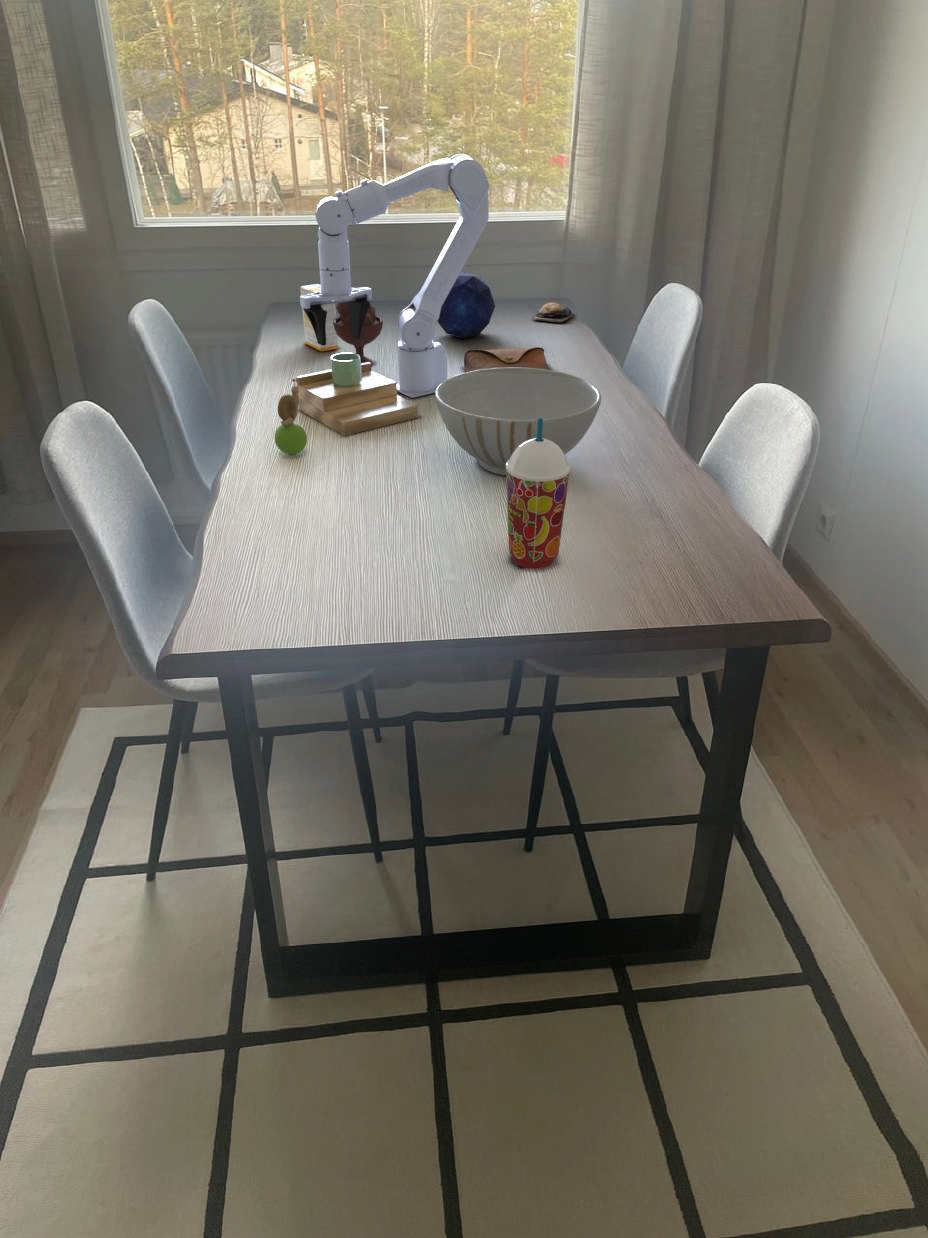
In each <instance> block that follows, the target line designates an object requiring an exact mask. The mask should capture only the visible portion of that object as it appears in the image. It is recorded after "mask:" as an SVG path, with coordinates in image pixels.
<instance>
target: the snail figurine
mask: <svg viewBox="0 0 928 1238" xmlns="http://www.w3.org/2000/svg"><path fill="white" fill-rule="evenodd" d="M291 381H292V382H293V383H295V382H296V385H293V386H291V390H290V392H291V394H290V393H286V394H283V395H282V396H281V397H280V399H279V400H278V404H277V414H278V417H279V419H281V421H280V425H279V426H278V427H277V429H276V430H275V433H274V443H275V445H276V447H277V448H278V450H280V452H281V453H283V454H286V455H297V454H299V453H301V452H302V451H303V450H304V449H305V447H306V445H307V442H308V435H307V432H306V430H305V428H304V427H303V426H302V425H300V424H299V423H297V422H294V421H295V420H296V418H297V417H298V414H299V396H298V393H299V388H298V382H299V380H298V379H296V378H292V379H291Z"/></svg>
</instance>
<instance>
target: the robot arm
mask: <svg viewBox="0 0 928 1238" xmlns="http://www.w3.org/2000/svg"><path fill="white" fill-rule="evenodd" d="M486 174H487V173H486V171H485V169H484V167H483V165H482V164H481V163H480V162H478V161H476V160H474V159H473V158H472V157H471V156H470V155H467V154H465V153H457V154H455V155H453V156H451V157H450V158H449V157H445V158H440V159H438V160H435V161H432V162H430V163H427V164H425V165H423V166H421V167H419V168H415V169H414V170H412V171H409V172H407V173H405V174H403V175H401V176H398V177H397V178H396V177H395V178H394V179H391V180H390V181H387V182H385V183H380V182H379V181H377V180H375V179H372V180H370V181H368V179H367V178H365V179H362V180H360V181H359V183H360V185H358V186H355V187H353V188H350V189H348V190H346V191H343V192H342V191H341V190H338V191H336V192H335V195H336V196H335V197H334V196H326V197H324V198H322V199H321V200H320V201H319V202H318V203H317V205H316V209H315V215H314V216H315V220H316V223H317V225H318V230H317V238H318V239H319V240H318V242H317V248H318V249H317V250H318V264H319V279H320V285H321V291H320V292H316V293H312V294H309V295H305V296H301V295H300V296H299V303H300V307H301V308H302V307H303V309H304V311H305V313H306V315H307V316H308V318H309V320H310V322H311V324H312V327H313V329H314V332H315V335H316V338H317V342H318V344H320V345H322V346H324V345H326V329H325V327H326V316H327V311H325V310H323V307H321V305H328V304H334V303H335V304H338V303H341V302H347V305H348V309H349V314H350V324H351V336H352V338H355V339H357V340H358V339H360V335H361V330H362V326H363V322H364V319H365V317H366V314H367V312H368V310H369V308H370V304H371V302H370V301H369V300H372V299H373V295H372V293H373V292H372V291H373V290H372V288H370V287H367V286H362V287H352V280H351V279H352V277H351V276H352V275H351V272H352V271H351V255H350V242H349V240H348V228H349V225H353V226H356V225H358V224H360V223H364V222H365V221H368V220H370V219H373V218H375V217H378V216H380V215H383V214H385V213H386V212H387V210H388V207H389V205H390V203H393V202H394V201H399V200H400V199H403V198H406V197H409V196H412V195H414V194H417V193H420V192H423V191H425V190H428V189H435V190H440V191H442V192H443V191H444V192H449V190H450V191H451V192H452V193H453V195H454V197H455V201H456V204H457V205H456V206H457V208H458V212H459V214H460V215H459V218H458V219H457V221H456V224H455V225H454V227H453V228H452V231H451V233H450V235H449V237H448V238H447V240H446V242H445V244H444V246H443V248H442V249H441V252H440V253H439V255H438V257H437V259H436V261H435V263H434V264H433V266H432V269H431V270H430V272H429V274H428V276H427V277H426V280H425V281H424V283H423V285H422V287H421V289H420V291H419V292H418V293H417V294H416V295H415V296H414V297H413V299H412V300H411V302H410V304H409V305H408V306H406V307H404V308H403V309H402V310H401V311H400V312H399V314H398V317H397V327H398V330H399V332H400V334H401V338H400V340H399V341H398V342H397V361H398V362H397V363H398V383H397V393H400V394H403V395H404V396H407V397H409V398H412V399H413V398H418V397H423V396H427V395H431V394H435V392H436V389H437V387H438V386H439V385H440V384H441V383H442V382H444V381H445V380H447V379H448V354H447V351H446V349H445V347H444V345H443V344H442V343H440V342H439V341H434V338H435V327H436V325H437V324H438V319H439V315H440V310H441V307H442V305H443V303H444V301H445V299H446V297H447V296H448V294H449V292H450V290H451V288H452V286H453V285H454V283H455V281H456V279H457V277H458V276H459V274H460V273H462V270H463V268H464V267H465V265H466V263H467V261H468V259H469V257H470V256H471V253H472V252H473V250H474V248H475V247H476V244H477V243H478V241H479V240H480V237H481V235H482V234H483V232H484V230H485V228H486V226H487V224H488V222H489V219H490V218H489V215H490V214H489V190H490V182H489V180H488V177H487V175H486Z"/></svg>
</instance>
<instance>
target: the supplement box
mask: <svg viewBox="0 0 928 1238" xmlns="http://www.w3.org/2000/svg"><path fill="white" fill-rule="evenodd" d="M299 288H300V296H305V295H309V294H312V293H316V292H320V291H321V284H319V283H315V284H308V285H301V286H299ZM321 307H323V310H325V311H327V316H326V327H325V329H326V345H324V346H322V345H320V344H318V342H317V338H316V335H315V332H314V329H313V327H312V324H311V322H310V320H309V318H308V316H307V315H306V313H305V311H304V309H303V307H301V310H302V320H303V331H304V341H305V342H304V343H305V345H308V346H309V347H311V348H314V349H315V350H318V351H320V352H327V351H333V350H337V349H339V340H338V339H339V337H338V335H337V333H336V331H335V329H334V326H333V319H334V318H336V317H337V313H336V312H337V311H336V303H334V304H328V305H321Z"/></svg>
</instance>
